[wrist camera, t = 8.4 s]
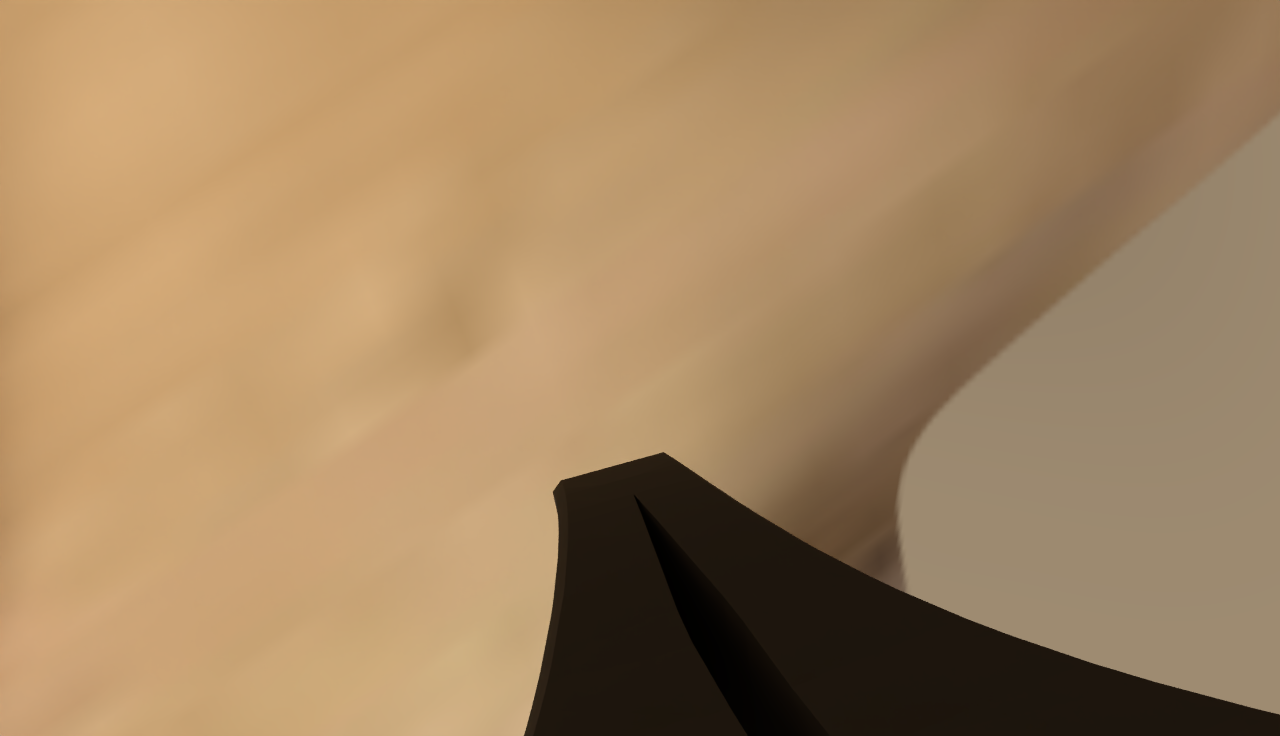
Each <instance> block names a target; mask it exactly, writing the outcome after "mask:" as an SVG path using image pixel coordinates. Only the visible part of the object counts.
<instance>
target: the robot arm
mask: <svg viewBox="0 0 1280 736" xmlns="http://www.w3.org/2000/svg"><path fill="white" fill-rule="evenodd" d="M553 495H554V500H555V504H556V508H557V513H558V522H559V543H558V562H557V572H556V581H555V591H554V600H553V608H552V614H551V620H550V625H549V630H548V635H547V641H546V646H545V651H544V656H543V661H542V666H541V672H540V676H539V681H538V685H537V689H536V693H535V697H534V701H533V705H532V709H531V713H530V716H529V720H528V724H527V727H526V731H525V734H524V736H1280V715H1279V714H1275V713H1271V712H1266V711H1262V710H1258V709H1254V708H1250V707H1247V706H1243V705H1239V704H1235V703H1231V702H1228V701H1224V700H1220V699H1216V698H1213V697H1209V696H1205V695H1201V694H1198V693H1194V692H1190V691H1187V690H1182V689H1179V688H1175V687H1171V686H1167V685H1164V684H1160V683H1156V682H1153V681H1150V680H1146V679H1143V678H1140V677H1136V676H1133V675H1130V674H1126V673H1123V672H1120V671H1116V670H1113V669H1110V668H1106V667H1103V666H1099V665H1096V664H1093V663H1090V662H1087V661H1084V660H1081V659H1078V658H1075V657H1072V656H1069V655H1066V654H1063V653H1060V652H1057V651H1054V650H1052V649H1049V648H1046V647H1043V646H1040V645H1037V644H1034V643H1031V642H1028V641H1025V640H1022V639H1019V638H1016V637H1013V636H1010V635H1008V634H1005V633H1002V632H1000V631H997V630H995V629H992V628H989V627H986V626H984V625H981V624H978V623H976V622H973V621H971V620H968V619H966V618H963V617H960V616H959V615H956V614H954V613H951V612H949V611H947V610H944V609H942V608H940V607H937V606H935V605H933V604H930V603H928V602H926V601H923V600H921V599H918V598H916V597H914V596H911V595H909V594H907V593H904V592H902V591H900V590H898V589H895V588H893V587H891V586H889V585H887V584H885V583H883V582H880V581H878V580H876V579H874V578H872V577H870V576H868V575H866V574H864V573H862V572H860V571H858V570H856V569H854V568H852V567H850V566H849V565H847V564H845V563H843V562H841V561H839V560H837V559H835V558H833V557H831V556H829V555H827V554H825V553H823V552H821V551H820V550H818V549H816V548H814V547H812V546H811V545H809V544H807V543H805V542H803V541H802V540H800V539H798V538H797V537H795V536H793V535H792V534H790V533H788V532H787V531H785V530H783V529H782V528H780V527H778V526H777V525H775V524H773V523H772V522H770V521H768V520H767V519H765V518H763V517H762V516H760V515H758V514H757V513H755V512H754V511H752V510H750V509H749V508H747V507H746V506H744V505H743V504H741V503H739V502H738V501H736V500H735V499H733V498H732V497H730V496H729V495H727V494H726V493H724V492H723V491H721V490H720V489H718V488H717V487H715V486H714V485H712V484H711V483H709V482H708V481H706V480H705V479H703V478H702V477H700V476H699V475H697V474H696V473H695V472H693V471H692V470H690V469H689V468H687V467H686V466H684V465H683V464H681V463H680V462H678V461H677V460H675V459H674V458H672V457H670V456H669V455H667V454H666V453H664V452H663V453H659V454H656V455H652V456H648V457H645V458H641V459H637V460H634V461H630V462H627V463H623V464H619V465H616V466H612V467H608V468H605V469H601V470H598V471H594V472H590V473H587V474H583V475H579V476H576V477H572V478H569V479H565V480H561V481H560V482H559V484H558V485H557V487H556V488H555V490H554V491H553Z"/></svg>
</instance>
